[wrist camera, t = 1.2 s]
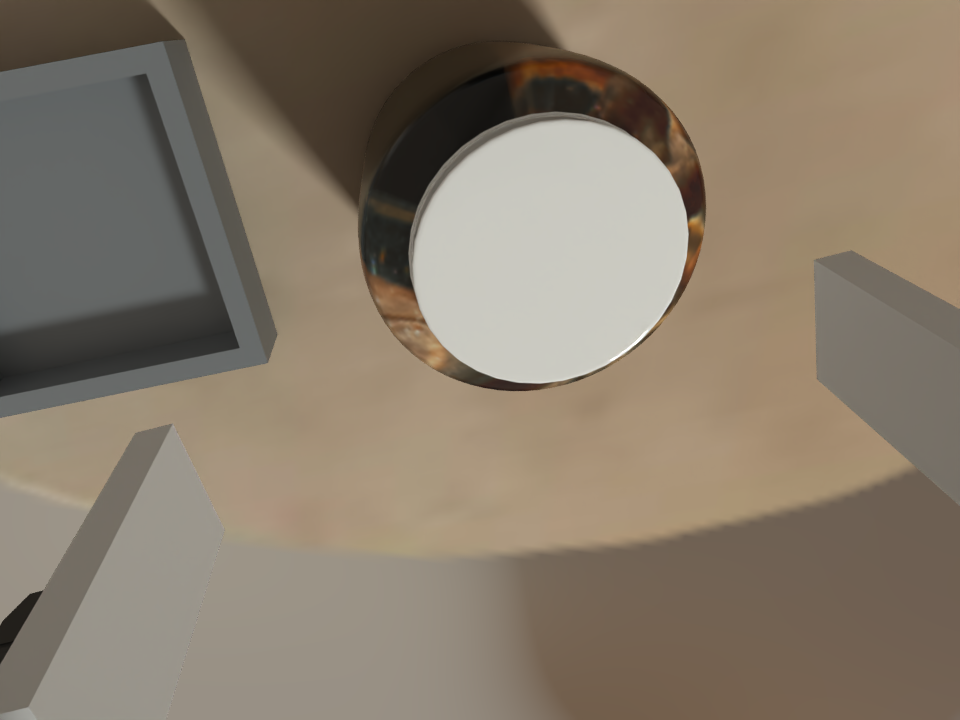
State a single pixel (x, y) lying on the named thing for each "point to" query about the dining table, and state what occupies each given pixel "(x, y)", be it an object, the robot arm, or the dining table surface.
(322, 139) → the dining table surface
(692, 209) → the jar
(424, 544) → the dining table surface
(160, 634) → the robot arm
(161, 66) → the tray
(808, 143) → the dining table surface
